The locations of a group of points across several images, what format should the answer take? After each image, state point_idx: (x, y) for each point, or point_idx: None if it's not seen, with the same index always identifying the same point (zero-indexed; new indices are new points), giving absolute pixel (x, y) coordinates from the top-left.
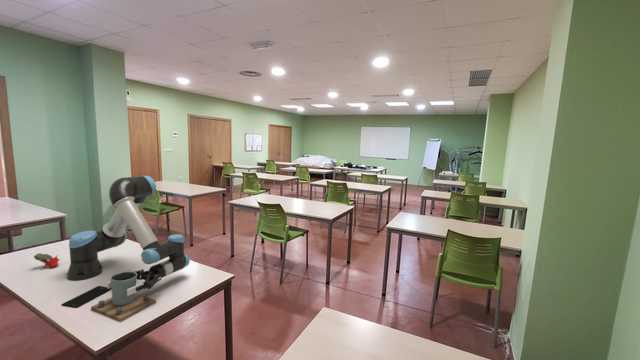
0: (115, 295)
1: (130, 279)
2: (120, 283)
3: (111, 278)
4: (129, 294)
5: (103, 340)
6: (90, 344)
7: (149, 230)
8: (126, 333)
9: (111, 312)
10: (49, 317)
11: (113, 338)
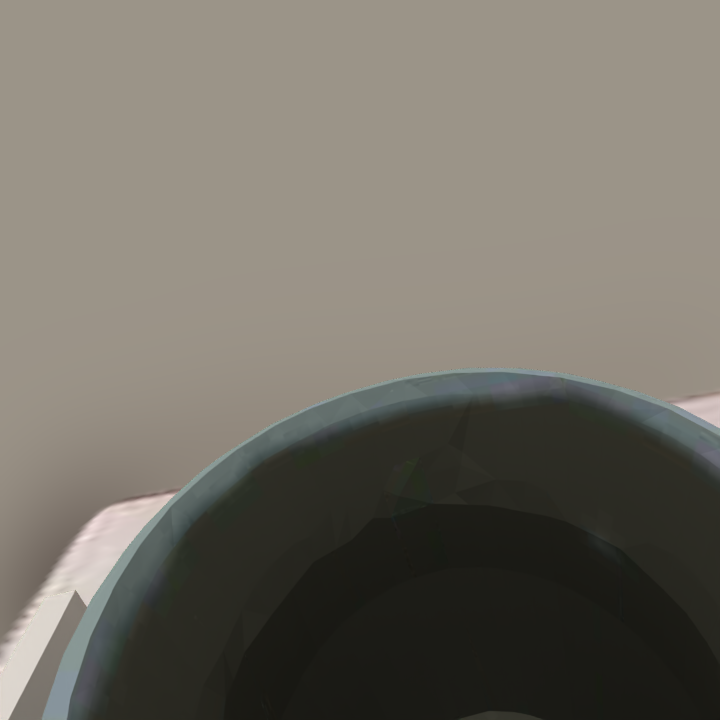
0: (404, 623)
1: (86, 632)
2: (244, 503)
3: (519, 397)
4: None
5: (118, 544)
6: (164, 500)
7: None
8: (3, 655)
9: None
10: (679, 400)
11: (67, 583)
